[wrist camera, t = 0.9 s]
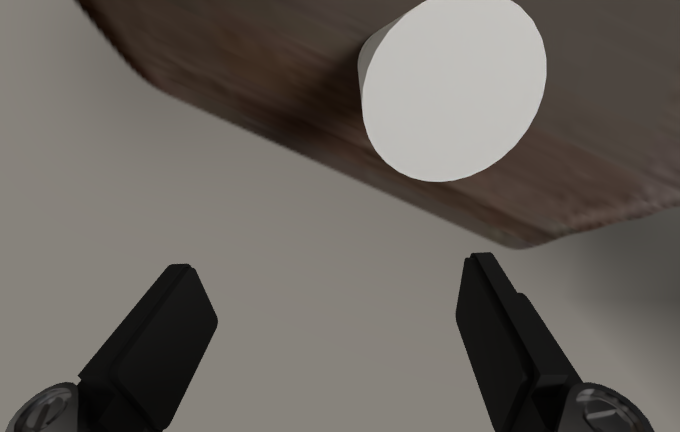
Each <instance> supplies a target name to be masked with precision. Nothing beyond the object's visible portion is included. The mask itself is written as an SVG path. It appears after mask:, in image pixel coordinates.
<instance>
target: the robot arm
mask: <svg viewBox="0 0 680 432" xmlns="http://www.w3.org/2000/svg"><path fill="white" fill-rule="evenodd" d="M456 322H457V325H458V328H459V331H460V334H461V337H462V339H463V342H464V345H465V348H466V351H467V354H468V357H469V360H470V362H471V365H472V368H473V371H474V374H475V377H476V380H477V382H478V385H479V388H480V391H481V394H482V397H483V400H484V402H485V405H486V408H487V411H488V414H489V417H490V420H491V422H492V425H493V428H494V430H495V432H654V430H653V428H652V426H651V424H650V422H649V420H648V419H647V418H646V417H645V415H644V414H643V413H642V412H641V410H640V409H639V408H638V407H637V406H636V405H634V404H633V403H632V402H631V401H630V400H629V399H627V398H626V397H624V396H623V395H621V394H620V393H618V392H616V391H615V390H613V389H611V388H608V387H606V386H603V385H600V384H596V383H591V382H585V383H583V381H582V380H581V378H580V377H579V375H578V374H577V372H576V371H575V369H574V368H573V366H572V365H571V363H570V362H569V360H568V359H567V357H566V356H565V354H564V353H563V351H562V349H561V348H560V346H559V345H558V343H557V342H556V340H555V339H554V337H553V336H552V334H551V333H550V331H549V330H548V328H547V327H546V325H545V323H544V322H543V320H542V319H541V317H540V316H539V314H538V313H537V311H536V310H535V308H534V307H533V305H532V304H531V302H530V301H529V299H528V298H527V297H526V296H525V295H524V294H523V293H517V292H516V290H515V289H514V287H513V285H512V284H511V282H510V281H509V279H508V277H507V276H506V274H505V273H504V271H503V270H502V268H501V267H500V265H499V263H498V261H497V260H496V259H495V257H494V255H493V254H492V253H490V252H487V253H472V254H471V256H470V258H465V261H464V267H463V273H462V279H461V285H460V291H459V297H458V302H457V308H456ZM217 324H218V319H217V316H216V314H215V311H214V309H213V307H212V305H211V303H210V300H209V298H208V296H207V294H206V292H205V289H204V287H203V285H202V283H201V281H200V279H199V276H198V274H197V272H196V270H195V269H194V268H192V267H191V266H190V265H189V264H172V265H169V266H168V267H167V268H166V269H165V271H164V272H163V273H162V274H161V275H160V277H159V278H158V279H157V281H155V283H154V284H153V285H152V286H151V287H150V289H149V290H148V291H147V292H146V294H145V295H144V296H143V297H142V298H141V300H140V301H139V302H138V303H137V304H136V306H135V307H134V308H133V309H132V310H131V312H130V313H129V314H128V315H127V317H126V318H125V319H124V320H123V321H122V323H121V324H120V325H119V326H118V327H117V329H116V330H115V331H114V332H113V333H112V335H111V336H110V337H109V338H108V340H107V341H106V342H105V343H104V344H103V346H102V347H101V348H100V349H99V350H98V352H97V353H96V354H95V355H94V356H93V358H92V359H91V360H90V361H89V363H88V364H87V365H86V366H85V367H84V369H83V370H82V371H81V372H80V374H79V375H78V376H79V377H80V379H81V381H80V382H79V384H78V385H75V384H74V383H71V382H64V383H59V384H56V385H53V386H51V387H49V388H46V389H45V390H43V391H41V392H40V393H38V394H36V395H35V396H34V397H33V398H31V399H30V400H29V401H28V402H26V403H25V404H24V405H23V406H22V407H21V408H20V409H19V410H18V411H17V412H16V414H15V415H14V416H13V418H12V419H11V420H10V422H9V424H8V427H7V429H6V431H5V432H162V431H163V430H164V429H166V428H167V427H168V426H169V425H170V423H171V421H172V419H173V417H174V415H175V413H176V411H177V408H178V407H179V404H180V402H181V400H182V398H183V396H184V394H185V392H186V390H187V388H188V385H189V384H190V382H191V379H192V377H193V375H194V373H195V371H196V369H197V367H198V365H199V363H200V361H201V359H202V357H203V355H204V353H205V351H206V349H207V347H208V344H209V342H210V340H211V338H212V336H213V334H214V332H215V330H216V328H217Z"/></svg>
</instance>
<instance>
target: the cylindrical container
mask: <svg viewBox="0 0 680 432" xmlns="http://www.w3.org/2000/svg"><path fill="white" fill-rule="evenodd" d="M358 76H359V85H360V94H361V103H362V111H363V120H364V124H365V127H366V131H367V134H368V137H369V139H370V141H371V142H372V144H373V146H374V148H375V150H376V151H377V152H378V154H379V155H380V156H381V157H382V158H383V159H384V161H385V162H386V163H387V164H389V165H390V166H392V167H393V168H394V169H396V170H397V171H398V172H400V173H403V174H405V175H407V176H409V177H411V178H415V179H419V180H424V181H434V182H443V181H451V180H457V179H461V178H464V177H468V176H471V175H473V174H475V173H477V172H479V171H482V170H484V169H486V168H487V167H489V166H490V165H492V164H493V163H495V162H496V161H498V160H499V159H501V158H502V157H503V156H504V155H505V154H506V153H507V152H508V151H509V150H510V149H512V148H513V147H514V146H515V145H516V144H517V142H518V141H519V140H520V138H521V137H522V136H523V134H524V133H525V132H526V131H527V129H528V128H529V126H530V124H531V122H532V120H533V118H534V117H535V115H536V113H537V111H538V108H539V105H540V102H541V99H542V97H543V92H544V87H545V81H546V55H545V50H544V46H543V41H542V38H541V36H540V34H539V32H538V30H537V28H536V26H535V24H534V22H533V20H532V19H531V18H530V17H529V16H528V15H527V14H526V12H525V11H524V10H523V9H522V8H521V7H520V6H519V5H517V4H516V3H514V2H512V1H511V0H427V1H424V2H423V3H421V4H420V5H418V6H417V7H415V8H413V9H412V10H410V11H409V12H407V13H406V14H404V15H402V16H401V17H399V18H398V19H396V20H394V21H393V22H391V23H390V24H388V25H387V26H385V27H383V28H382V29H380V30H379V31H377V32H376V33H374V34H373V35H371V36H370V37H369V39H368V40H367V41H366V42H365V44H364V45H363V47H362V49H361V51H360V53H359V58H358Z"/></svg>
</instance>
